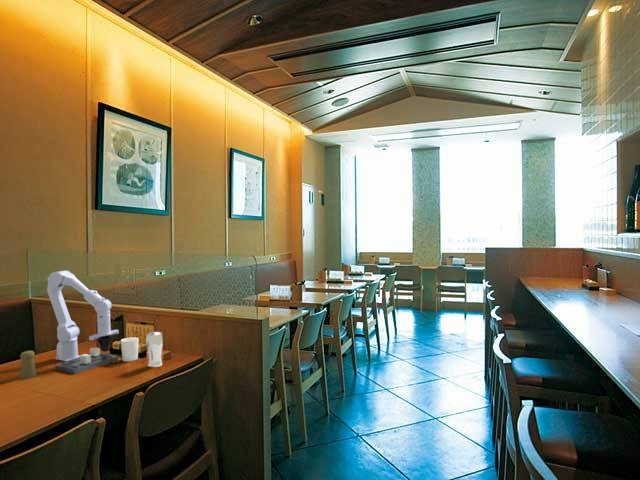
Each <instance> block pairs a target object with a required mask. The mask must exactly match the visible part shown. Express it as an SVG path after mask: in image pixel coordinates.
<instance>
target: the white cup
mask: <svg viewBox="0 0 640 480" xmlns="http://www.w3.org/2000/svg"><path fill="white" fill-rule="evenodd" d="M120 346H121V347H120V349H121V355H122V361H123V362H133V361H134V362H135V361H136V360H138V359H139V358H138V357H139V337H137V336H136V337H135V336H133V337H132V336H131V337H126V338H122V339H121V340H120Z"/></svg>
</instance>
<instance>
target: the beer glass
mask: <svg viewBox="0 0 640 480" xmlns="http://www.w3.org/2000/svg"><path fill="white" fill-rule="evenodd" d="M163 340H164V339H163V332H162V331H151V332H149V333H146V349H147V354H148V364H147V366H148V368H158V367H161V366H162V365H163V362H162V361H163V360H162V351H163V345H164V344H163V343H164V341H163Z"/></svg>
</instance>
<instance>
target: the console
mask: <svg viewBox="0 0 640 480" xmlns="http://www.w3.org/2000/svg"><path fill="white" fill-rule="evenodd" d="M116 360H117V361H119V357H118V355H115V354H114V355H113V354H108V353H104V352H100V355H99V356H91V363H88V364H83V363H81V361H80V358H76V359H73V360H69V361H62V362H61V363H58V364H55V366H54V368H55V370H57V371H61V372H64V373H65V372H66V373H70V374H73V375H76V374H79V373H83V372H87V371H88V370H92V369H95V368H98V367H101V366H104V365H106V364H110V363H114V362H116ZM113 361H114V362H113Z"/></svg>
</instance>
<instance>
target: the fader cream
mask: <svg viewBox="0 0 640 480" xmlns="http://www.w3.org/2000/svg"><path fill="white" fill-rule="evenodd" d="M100 348H101V347H96V346H95V347H90V348H89V355H91V356H99V355H100V353H101V350H100Z"/></svg>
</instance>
